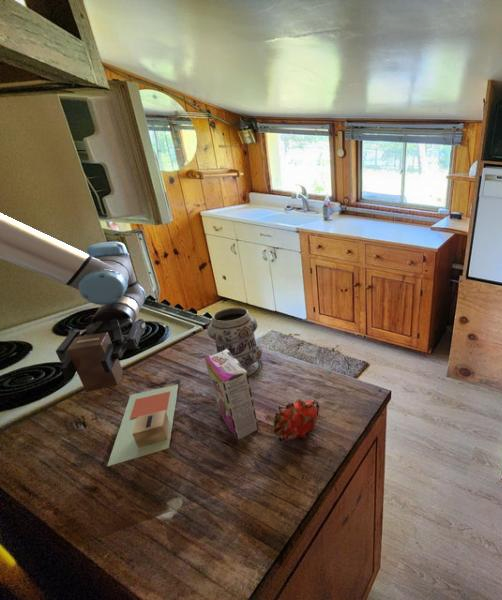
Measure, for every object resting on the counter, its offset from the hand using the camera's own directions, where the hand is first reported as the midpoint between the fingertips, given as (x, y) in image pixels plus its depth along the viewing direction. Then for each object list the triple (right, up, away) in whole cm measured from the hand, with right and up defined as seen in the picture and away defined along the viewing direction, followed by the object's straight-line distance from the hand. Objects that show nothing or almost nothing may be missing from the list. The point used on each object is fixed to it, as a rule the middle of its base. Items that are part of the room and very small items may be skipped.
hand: (86, 370), depth 61 cm
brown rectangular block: (-3, -4, +7) cm, 8 cm away
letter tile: (+6, -16, +9) cm, 19 cm away
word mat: (+2, -14, +13) cm, 19 cm away
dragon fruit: (+36, -16, +12) cm, 41 cm away
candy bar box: (+22, -15, +13) cm, 30 cm away
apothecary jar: (+14, -7, +30) cm, 34 cm away
